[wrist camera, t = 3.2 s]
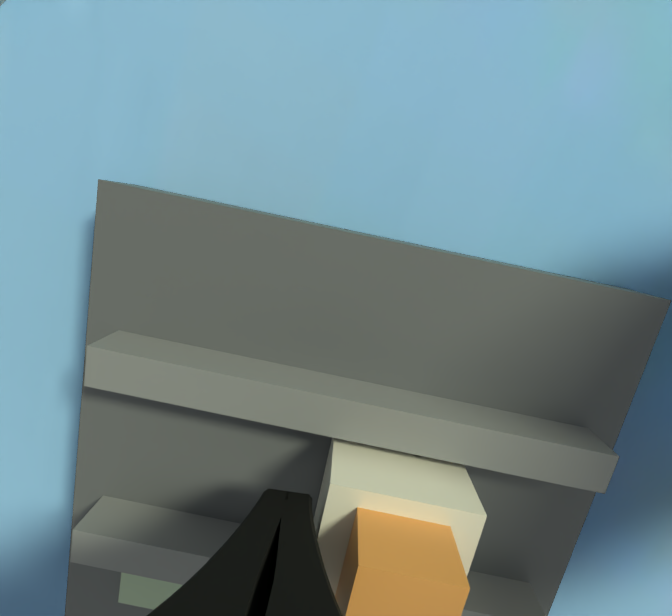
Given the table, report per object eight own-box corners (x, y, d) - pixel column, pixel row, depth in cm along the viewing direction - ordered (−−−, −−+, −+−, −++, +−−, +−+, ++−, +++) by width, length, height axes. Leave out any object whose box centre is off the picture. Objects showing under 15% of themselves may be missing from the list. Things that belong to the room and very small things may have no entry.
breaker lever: (457, 450, 13) (514, 576, 9) (426, 553, 14) (463, 719, 10) (335, 424, 13) (325, 537, 9) (311, 529, 14) (291, 685, 10)
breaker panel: (627, 288, 14) (718, 312, 11) (493, 654, 18) (528, 764, 14) (133, 184, 14) (60, 173, 10) (96, 574, 17) (32, 664, 14)
